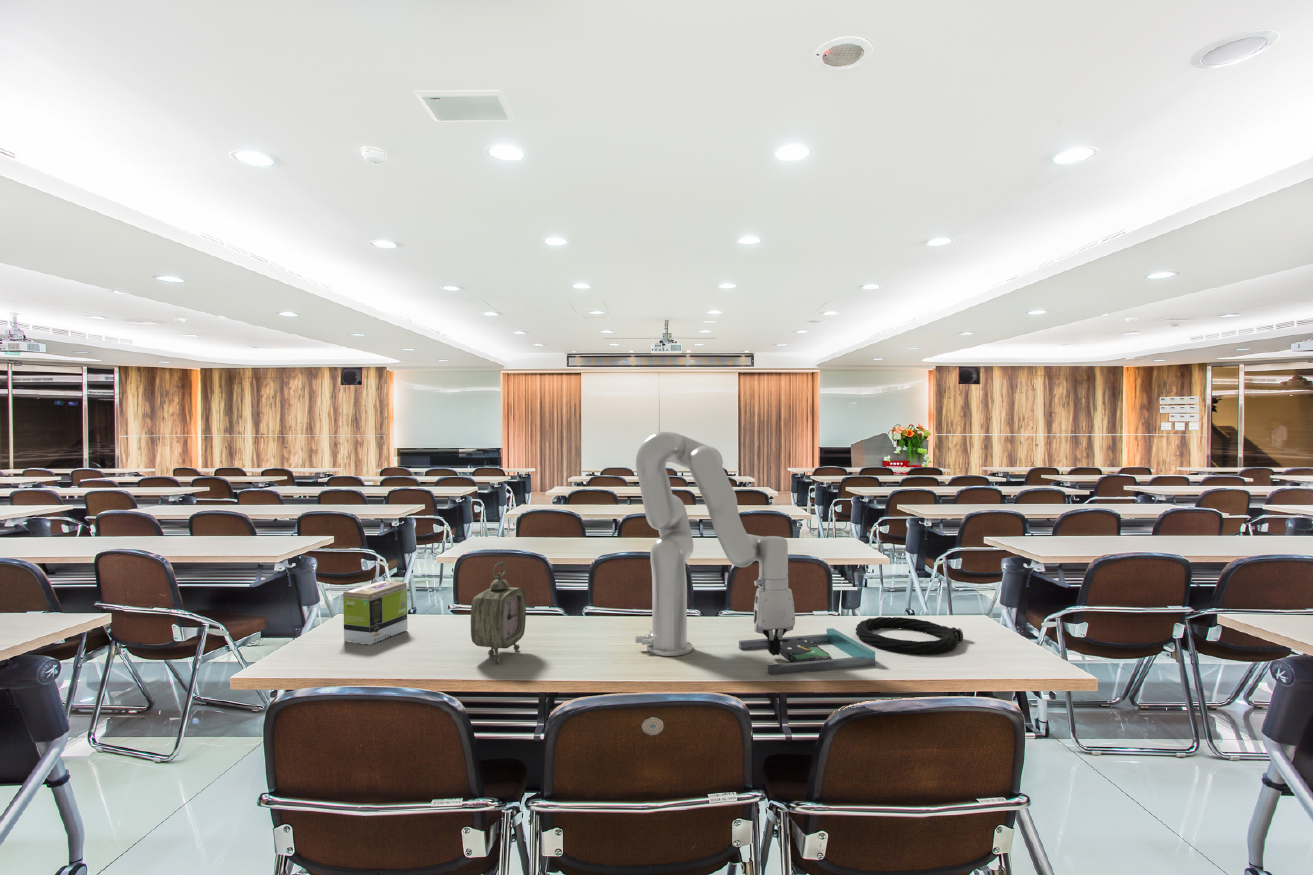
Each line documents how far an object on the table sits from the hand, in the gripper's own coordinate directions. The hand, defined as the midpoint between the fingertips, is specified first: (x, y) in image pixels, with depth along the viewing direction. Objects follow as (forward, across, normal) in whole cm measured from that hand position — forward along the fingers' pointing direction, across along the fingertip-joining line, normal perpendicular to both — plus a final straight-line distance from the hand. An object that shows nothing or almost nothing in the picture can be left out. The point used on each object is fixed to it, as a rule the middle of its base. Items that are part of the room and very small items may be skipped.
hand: (773, 653), depth 163 cm
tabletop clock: (+1, -71, +19) cm, 73 cm away
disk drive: (+2, +8, 0) cm, 9 cm away
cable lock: (+2, +45, +6) cm, 46 cm away
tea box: (+1, -106, +44) cm, 115 cm away
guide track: (+2, +9, 0) cm, 9 cm away
